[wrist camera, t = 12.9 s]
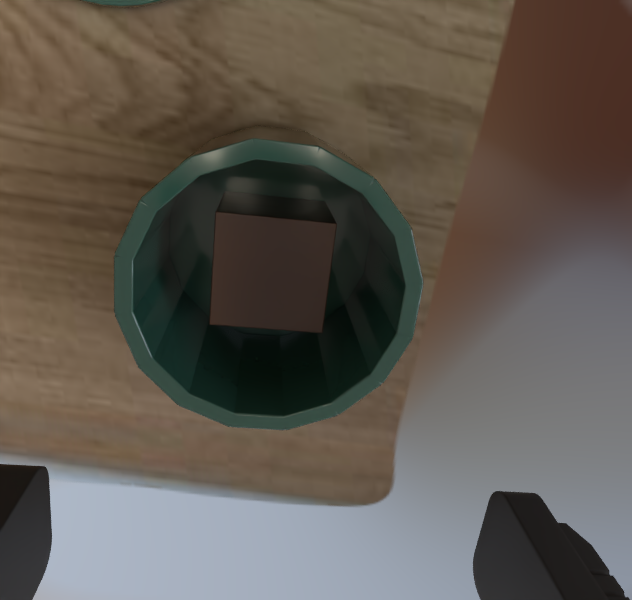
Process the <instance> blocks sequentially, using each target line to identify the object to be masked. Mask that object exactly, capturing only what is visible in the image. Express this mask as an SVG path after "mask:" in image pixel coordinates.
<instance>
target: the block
mask: <svg viewBox="0 0 632 600" xmlns="http://www.w3.org/2000/svg"><path fill="white" fill-rule="evenodd" d="M336 228H337V223H336V221H335V219H334V217H333V215H332V214H331V212H330V210H329V208H328V206H327V204H326V202H324V201H314V200H305V199H295V198H285V197H276V196H266V195H256V194H247V193H237V192H227V191H225V192H224V194H223V197H222V199H221V201H220V203H219V205H218V208H217V210H216V212H215V227H214V244H213V262H212V280H211V298H210V316H209V324H210V325H222V326H235V327H248V328H261V329H274V330H287V331H300V332H313V333H322V332H323V326H324V319H325V311H326V304H327V296H328V288H329V281H330V273H331V266H332V258H333V250H334V243H335V235H336Z"/></svg>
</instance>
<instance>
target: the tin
mask: <svg viewBox="0 0 632 600" xmlns="http://www.w3.org/2000/svg"><path fill="white" fill-rule="evenodd" d="M225 191H227V192H237V193H247V194H256V195H266V196H276V197H285V198H295V199H305V200H314V201H324V202H326V204H327V206H328V208H329V210H330V212H331V214H332V215H333V217H334V219H335V221H336V223H337V228H336V235H335V243H334V250H333V258H332V266H331V273H330V281H329V288H328V296H327V304H326V311H325V319H324V326H323V332H322V333H313V332H300V331H287V330H274V329H261V328H248V327H235V326H222V325H210V324H209V316H210V298H211V280H212V262H213V244H214V227H215V212H216V210H217V208H218V205H219V203H220V201H221V199H222V197H223V194H224V192H225ZM422 289H423V278H422V273H421V269H420V264H419V260H418V255H417V251H416V246H415V241H414V237H413V232H412V228H411V227H410V225H409V223H408V222H407V221H406V219H405V218H404V217H403V215H402V214H401V212H400V211H399V210H398V208H397V207H396V206H395V204H394V203H393V202H392V200H391V199H390V197H389V196H388V195H387V193H386V192H385V191H384V189H383V188H382V187H381V185H380V184H379V182H378V181H377V180H376V179H375V178H374V177H373V176H372V175H370V174H369V173H368V172H367V171H365V170H364V169H363V168H362V167H360V166H359V165H358V164H357V163H355V162H354V161H353V160H352V159H350V158H349V157H348V156H347V155H345V154H344V153H342V152H340V151H339V150H337V149H335V148H334V147H332V146H330V145H328V144H327V143H325V142H324V141H322V140H320V139H318V138H316V137H315V136H313V135H311V134H310V133H308V132H305V131H300V130H292V129H286V128H280V127H268V126H260V125H258V126H253V127H250V128H247V129H243V130H239V131H235V132H232V133H230V134H227V135H223V136H220V137H216V138H213V139H212V140H210V141H208V142H207V143H206V144H205V145H203V146H202V147H201V148H200V149H198V150H197V151H196V152H194V153H193V154H192V155H191V156H189V157H188V158H187V159H186V160H185V161H183V162H182V163H181V164H180V165H179V166H178V167H176V168H175V169H174V170H173V171H172V172H171V173H169V174H168V175H167V176H166V177H165V178H163V179H162V180H161V181H160V182H159V183H158V184H156V185H155V186H154V187H153V188H152V189H151V190H149V191H148V192H147V193H146V194H145V195H144V196H142V197H141V199H140V200H139V202H138V204H137V206H136V208H135V210H134V212H133V215H132V217H131V219H130V221H129V223H128V225H127V228H126V230H125V232H124V234H123V236H122V238H121V241H120V243H119V245H118V247H117V249H116V251H115V256H114V312H115V317H116V319H117V321H118V323H119V326H120V328H121V330H122V332H123V335H124V337H125V339H126V341H127V344H128V346H129V348H130V350H131V353H132V355H133V357H134V359H135V361H136V364H137V365H138V368H139V369H140V370H142V371H143V372H144V373H145V374H146V375H147V376H148V377H149V378H150V379H151V380H152V381H153V382H154V383H155V384H156V385H157V386H158V387H159V388H160V389H161V390H163V391H164V392H165V393H166V394H167V395H168V396H169V397H170V398H171V399H172V400H173V401H174V402H175V403H176V404H177V405H179V406H181V407H183V408H186V409H188V410H190V411H193V412H195V413H197V414H200V415H202V416H205V417H207V418H209V419H212V420H214V421H216V422H219V423H221V424H223V425H226V426H228V427H230V426H231V427H238V428H254V429H271V430H285V429H286V430H289V429H292V428H296V427H300V426H303V425H307V424H310V423H314V422H317V421H321V420H324V419H328V418H331V417H335V416H337V415H338V414H341V413H342V412H344V411H345V410H346V409H348V408H349V407H351V406H352V405H353V404H355V403H356V402H358V401H359V400H360V399H362V398H363V397H365V396H366V395H367V394H369V393H370V392H372V391H373V390H374V389H376V388H377V387H379V386H380V385H381V384H382V383H384V381H385V380H386V378H387V377H388V375H389V374H390V372H391V370H392V369H393V367H394V366H395V364H396V363H397V361H398V360H399V358H400V357H401V355H402V354H403V352H404V351H405V349H406V348H407V346H408V345H409V343H410V342H411V340H412V338H413V335H414V330H415V325H416V320H417V315H418V310H419V304H420V299H421V294H422Z"/></svg>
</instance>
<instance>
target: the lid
mask: <svg viewBox="0 0 632 600" xmlns="http://www.w3.org/2000/svg"><path fill="white" fill-rule="evenodd" d="M81 1H84V2H87V3H91V4H96V5H101V6H106V7H120V8H130V7H144V6H148V5H153V4H157V3H162V2H165V1H167V0H81Z"/></svg>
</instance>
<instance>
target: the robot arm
mask: <svg viewBox="0 0 632 600" xmlns="http://www.w3.org/2000/svg"><path fill="white" fill-rule="evenodd" d="M51 542H52V529H51V510H50V491H49V475H48V471H47V469H46V467H44V466H26V465H7V464H0V600H32V599H33V597H34V595H35V593H36V591H37V588H38V586H39V584H40V582H41V580H42V578H43V575H44V573H45V570H46V567H47V564H48V560H49V555H50V551H51ZM473 573H474V580H475V585H476V588H477V592H478V594H479V597H480V599H481V600H630V599H629V598H628V597H625V596H624V591H623V589H622V588H621V586H620V585H619V584H618V583H617V581H616V579H615V578H614V577H613V576H610V575H609V570H608V568H607V567H606V565H605V564H604V562H603V561H602V559H601V558H600V557H599V555H598V554H597V552H596V551H595V550H594V548H593V547H592V545H591V544H589V543H588V542H587V541H586V540H585V539H584V538H582V537H581V536H580V535H579V534H578V533H577V532H575V531H574V530H573V529H572V528H571V527H570V526H568V525H567V524H566V523H558V522H557V521H556V519H555V518H554V516H553V515H552V513H551V512H550V511H549V509H548V507H547V506H546V504H545V503H544V502H543V500H542V499H541V497H540V496H539V495H537V494H535V493H522V492H502V491H496V492H494V493H493V494H492V495H491V497H490V500H489V503H488V506H487V510H486V513H485V517H484V521H483V524H482V528H481V531H480V535H479V538H478V542H477V546H476V549H475V553H474V559H473Z"/></svg>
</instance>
